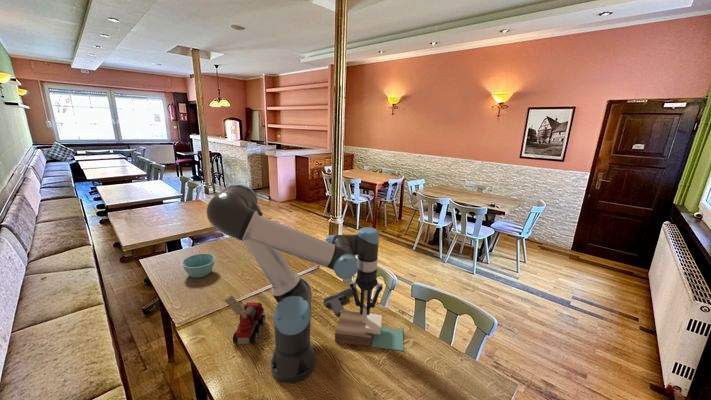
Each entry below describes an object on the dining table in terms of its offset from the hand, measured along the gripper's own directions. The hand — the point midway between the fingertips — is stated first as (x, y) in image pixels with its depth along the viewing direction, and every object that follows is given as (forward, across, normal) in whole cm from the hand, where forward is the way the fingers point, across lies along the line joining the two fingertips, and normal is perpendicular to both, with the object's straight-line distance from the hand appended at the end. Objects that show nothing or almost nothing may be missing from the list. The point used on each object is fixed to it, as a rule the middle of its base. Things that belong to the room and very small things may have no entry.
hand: (364, 320), depth 115 cm
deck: (+6, +4, 0) cm, 7 cm away
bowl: (+5, +91, -28) cm, 96 cm away
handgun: (+6, +12, -18) cm, 22 cm away
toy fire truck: (+6, +46, +8) cm, 47 cm away
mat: (+6, -10, +1) cm, 11 cm away
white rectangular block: (+2, -4, 0) cm, 4 cm away
